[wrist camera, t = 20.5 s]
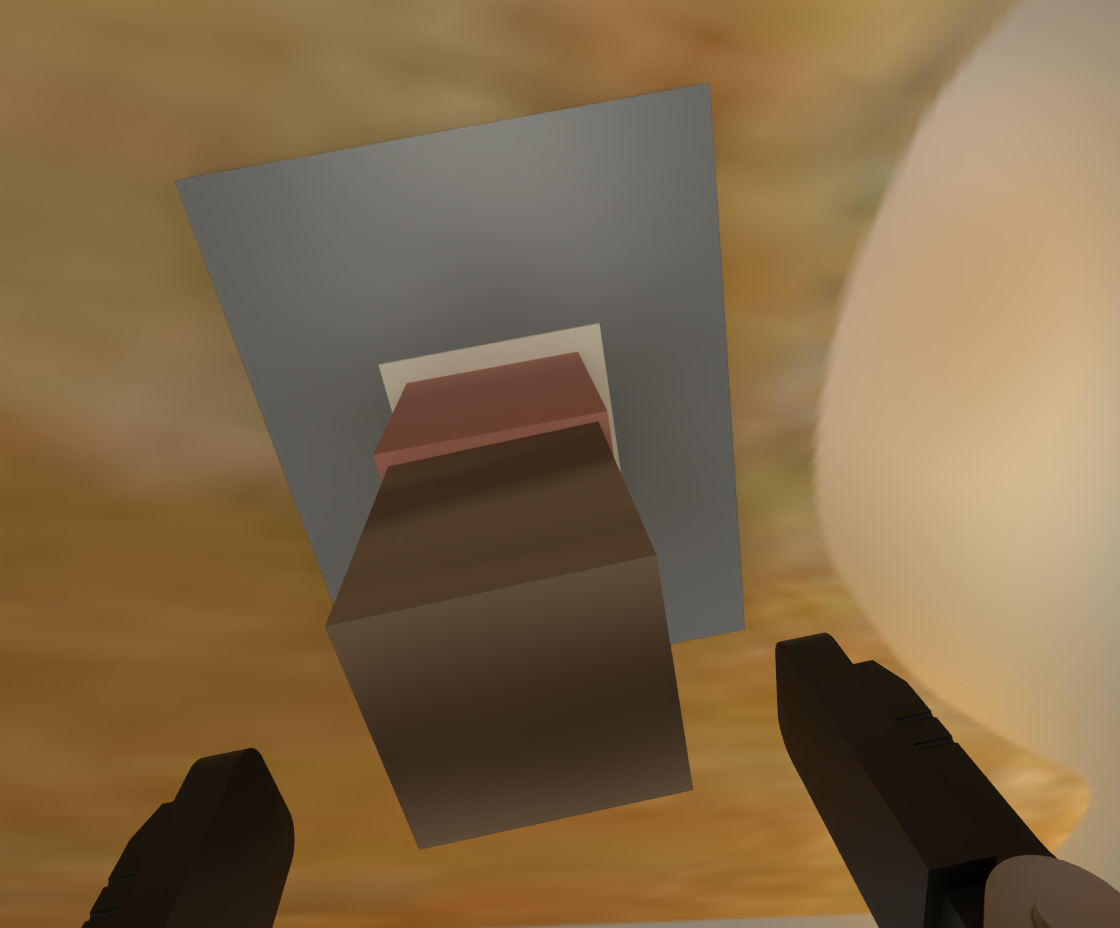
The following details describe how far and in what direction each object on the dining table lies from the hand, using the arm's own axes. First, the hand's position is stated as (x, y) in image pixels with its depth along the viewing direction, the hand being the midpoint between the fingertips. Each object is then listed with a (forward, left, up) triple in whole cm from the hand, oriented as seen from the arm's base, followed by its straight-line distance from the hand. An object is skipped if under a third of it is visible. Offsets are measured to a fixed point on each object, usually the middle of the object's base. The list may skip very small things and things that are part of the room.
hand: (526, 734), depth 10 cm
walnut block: (0, 0, -7) cm, 7 cm away
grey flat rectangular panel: (0, 0, -14) cm, 14 cm away
